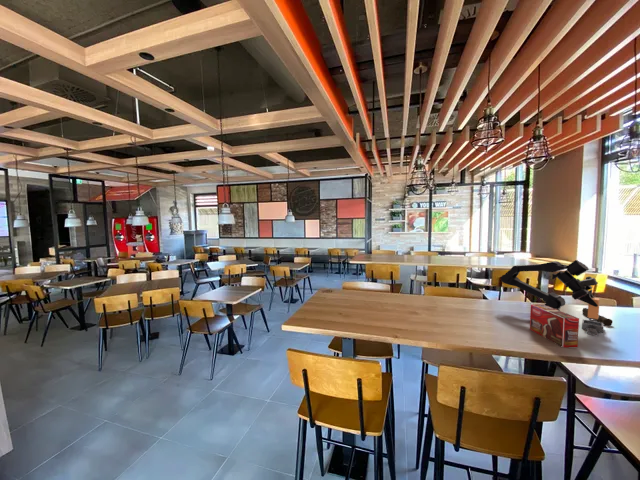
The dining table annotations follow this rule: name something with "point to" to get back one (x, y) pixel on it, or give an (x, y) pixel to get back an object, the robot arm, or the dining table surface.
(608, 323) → the hand tool
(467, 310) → the dining table surface
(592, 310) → the orange rectangular block
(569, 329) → the ice cream box
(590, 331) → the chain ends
